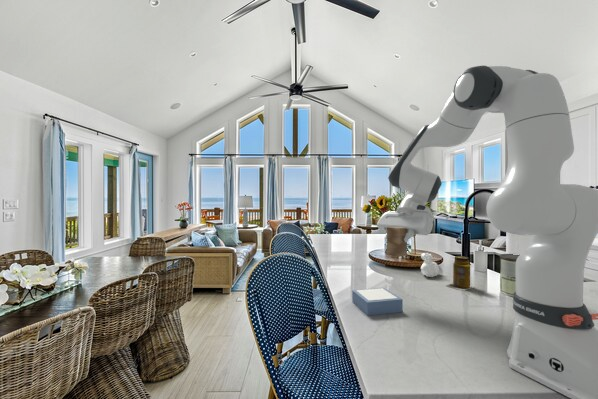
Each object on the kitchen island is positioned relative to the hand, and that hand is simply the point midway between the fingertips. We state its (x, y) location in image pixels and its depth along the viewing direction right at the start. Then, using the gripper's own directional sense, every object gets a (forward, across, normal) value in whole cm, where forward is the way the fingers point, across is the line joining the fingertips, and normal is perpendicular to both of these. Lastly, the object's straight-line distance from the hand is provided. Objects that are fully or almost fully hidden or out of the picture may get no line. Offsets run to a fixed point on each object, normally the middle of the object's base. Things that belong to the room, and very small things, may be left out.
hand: (395, 240), depth 103 cm
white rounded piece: (-12, -6, +42) cm, 45 cm away
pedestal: (+24, 0, +6) cm, 24 cm away
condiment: (-7, +10, +37) cm, 39 cm away
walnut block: (+3, 0, +4) cm, 5 cm away
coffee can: (-12, +28, +42) cm, 51 cm away
